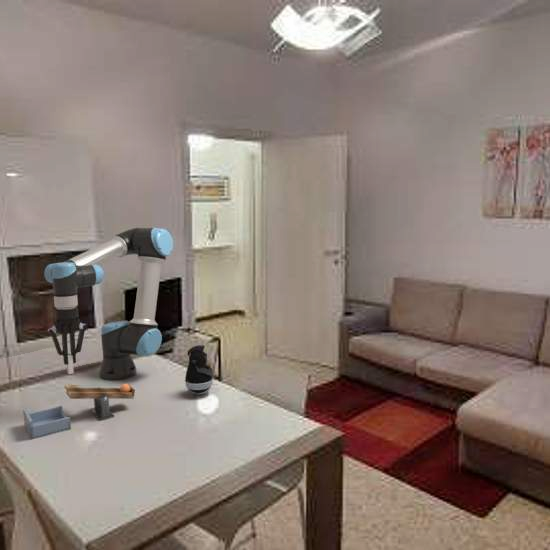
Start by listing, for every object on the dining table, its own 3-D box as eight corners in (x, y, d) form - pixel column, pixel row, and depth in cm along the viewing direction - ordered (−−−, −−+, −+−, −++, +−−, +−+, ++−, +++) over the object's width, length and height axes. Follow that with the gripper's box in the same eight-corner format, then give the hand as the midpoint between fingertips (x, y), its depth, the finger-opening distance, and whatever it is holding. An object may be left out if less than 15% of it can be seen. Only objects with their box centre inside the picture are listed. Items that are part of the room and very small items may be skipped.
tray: (62, 416, 174) (61, 400, 173) (70, 429, 164) (69, 411, 163) (24, 425, 167) (23, 409, 166) (31, 439, 157) (29, 421, 157)
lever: (121, 387, 190) (123, 379, 190) (133, 398, 179) (135, 389, 179) (61, 387, 177) (63, 378, 177) (70, 398, 166) (72, 389, 166)
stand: (104, 406, 182) (102, 385, 181) (114, 417, 173) (112, 395, 172) (90, 410, 179) (88, 389, 178) (99, 420, 170) (98, 398, 169)
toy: (211, 399, 187) (209, 348, 184) (183, 399, 188) (180, 348, 185) (215, 388, 198) (213, 340, 195) (188, 389, 198) (186, 340, 195)
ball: (128, 391, 183) (128, 382, 182) (131, 394, 180) (132, 385, 180) (118, 392, 181) (118, 383, 180) (121, 395, 178) (122, 386, 177)
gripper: (83, 303, 179) (86, 366, 182) (43, 307, 171) (48, 373, 174) (88, 306, 172) (92, 371, 176) (48, 311, 165) (52, 379, 168)
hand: (70, 372), depth 175 cm, fingers closed
